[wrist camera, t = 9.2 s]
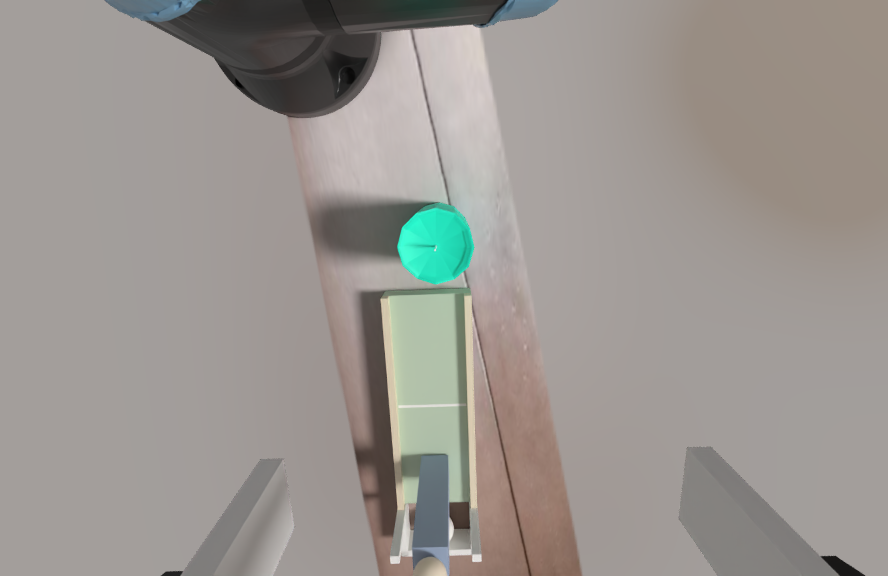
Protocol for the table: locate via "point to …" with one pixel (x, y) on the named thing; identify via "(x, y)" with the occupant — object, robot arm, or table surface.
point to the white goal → (458, 545)
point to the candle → (436, 244)
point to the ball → (450, 528)
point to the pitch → (431, 387)
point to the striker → (432, 518)
